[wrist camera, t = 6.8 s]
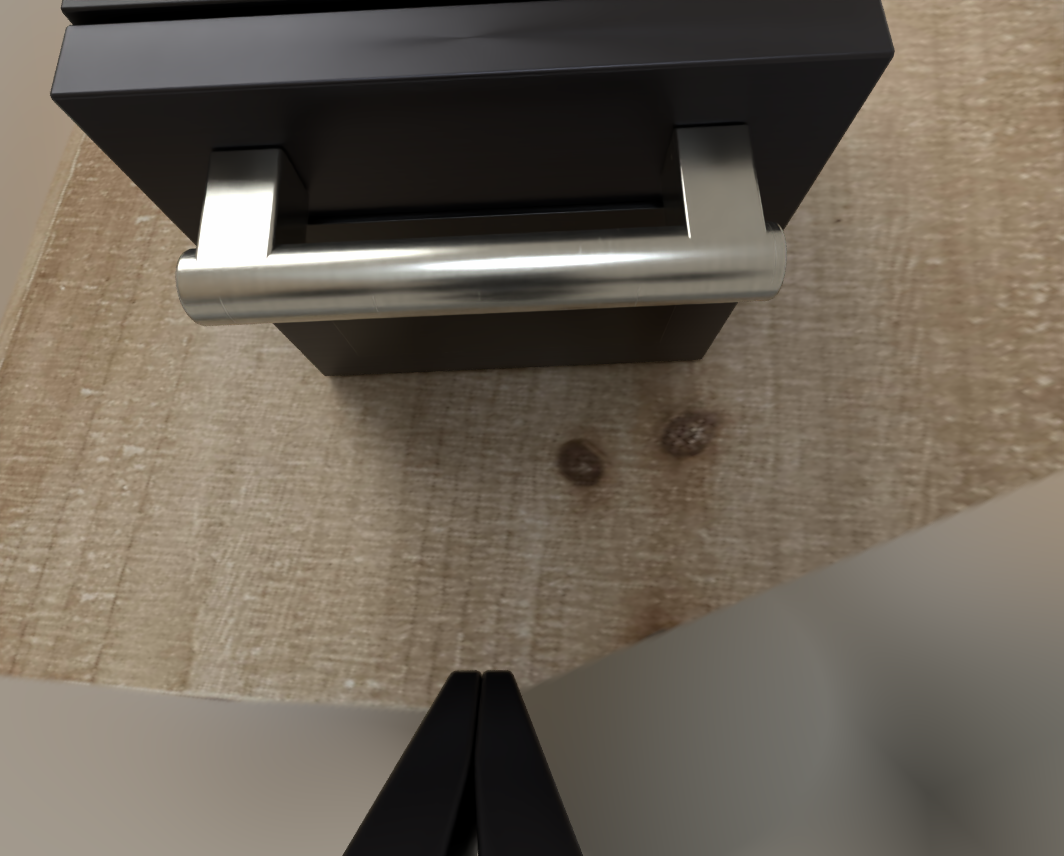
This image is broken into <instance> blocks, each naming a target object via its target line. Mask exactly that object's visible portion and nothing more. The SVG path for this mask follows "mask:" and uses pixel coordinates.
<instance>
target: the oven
mask: <svg viewBox="0 0 1064 856" xmlns="http://www.w3.org/2000/svg"><path fill="white" fill-rule="evenodd" d="M517 1H536V0H62V5H61V10H62V12H63V14H64V15H65V16H66V17H67V18H68V20H69V21H70V22H71V23H72V24H73V25H82V24H101V23H120V22H139V21H158V20H177V19H195V18H214V17H233V16H252V15H271V14H290V13H309V12H328V11H347V10H366V9H385V8H404V7H423V6H442V5H460V4H479V3H498V2H517Z"/></svg>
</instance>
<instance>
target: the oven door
mask: <svg viewBox="0 0 1064 856" xmlns="http://www.w3.org/2000/svg"><path fill="white" fill-rule="evenodd" d="M894 52H895V50H894V46H893V43H892V39H891V35H890V32H889V28H888V24H887V21H886V17H885V13H884V9H883V6H882V2H881V0H536V1H517V2H498V3H479V4H460V5H442V6H423V7H404V8H385V9H366V10H347V11H328V12H309V13H290V14H271V15H252V16H233V17H214V18H195V19H177V20H158V21H139V22H120V23H101V24H82V25H69V26H68V27H67V28H66V30H65V34H64V38H63V42H62V46H61V51H60V55H59V59H58V63H57V67H56V71H55V76H54V80H53V84H52V88H51V92H50V96H51V98H52V100H53V101H54V102H55V103H56V104H57V105H58V106H59V107H60V108H61V109H62V110H63V111H64V112H65V113H66V114H67V115H68V116H69V117H70V118H71V119H72V120H73V121H74V122H75V123H76V124H77V125H78V126H79V127H80V128H81V129H82V130H83V131H84V132H85V133H86V134H87V135H88V136H89V138H90V139H91V140H92V141H93V142H94V143H95V144H96V145H97V146H98V147H99V148H100V149H101V150H102V151H103V152H104V153H105V154H106V155H107V156H108V157H109V158H110V159H111V160H112V161H113V162H114V163H115V164H116V165H117V166H118V167H119V168H120V169H121V170H122V171H123V172H124V173H125V174H126V175H127V176H128V177H129V178H130V179H131V180H132V181H133V182H134V183H135V184H136V185H137V186H138V187H139V188H140V189H141V190H142V191H143V192H144V193H145V194H146V195H147V196H148V197H149V198H150V199H151V200H152V201H153V202H154V203H155V204H156V205H157V206H158V207H159V208H160V209H161V210H162V211H163V213H164V214H165V215H166V216H167V217H168V218H169V219H170V220H171V221H172V222H173V223H174V224H175V225H176V226H177V227H178V228H179V229H180V230H181V231H182V232H183V233H184V234H185V235H186V236H187V237H188V238H189V239H190V240H191V241H192V242H193V243H194V244H195V245H196V249H189V250H187V251H185V252H184V253H183V254H182V255H181V256H180V258H179V260H178V263H177V267H176V287H177V292H178V296H179V299H180V302H181V304H182V306H183V308H184V310H185V312H186V313H187V315H188V316H189V317H190V318H191V319H192V320H193V321H194V322H196V323H197V324H200V325H203V326H220V325H242V324H264V323H273V324H274V325H275V326H276V327H277V328H278V329H279V330H280V331H281V332H282V333H283V334H284V335H285V336H286V337H287V338H288V339H289V340H290V341H291V342H292V343H293V344H294V345H295V346H296V347H297V348H298V349H299V350H300V351H301V352H302V353H303V354H304V355H305V356H306V357H307V358H308V359H309V360H310V361H311V362H312V364H313V365H314V366H315V367H316V368H317V369H318V370H319V371H320V372H321V373H322V374H323V375H325V376H335V375H358V374H381V373H404V372H427V371H450V370H472V369H495V368H518V367H541V366H564V365H586V364H609V363H632V362H655V361H678V360H701V359H702V358H703V357H704V355H705V353H706V352H707V350H708V349H709V347H710V345H711V344H712V342H713V341H714V339H715V338H716V336H717V334H718V333H719V331H720V330H721V328H722V327H723V325H724V323H725V322H726V320H727V319H728V317H729V315H730V314H731V312H732V311H733V309H734V308H735V306H736V304H737V303H738V302H751V301H768V300H771V299H773V298H774V297H775V296H776V295H777V294H778V292H779V290H780V288H781V286H782V283H783V279H784V275H785V270H786V260H787V249H786V240H785V236H784V233H783V230H784V229H785V227H786V225H787V224H788V222H789V221H790V219H791V218H792V216H793V214H794V213H795V211H796V210H797V208H798V207H799V205H800V203H801V202H802V200H803V199H804V197H805V195H806V194H807V192H808V191H809V189H810V188H811V186H812V184H813V183H814V181H815V180H816V178H817V177H818V175H819V173H820V172H821V170H822V169H823V167H824V165H825V164H826V162H827V161H828V159H829V158H830V156H831V154H832V153H833V151H834V150H835V148H836V147H837V145H838V143H839V142H840V140H841V139H842V137H843V135H844V134H845V132H846V131H847V129H848V128H849V126H850V124H851V123H852V121H853V120H854V118H855V117H856V115H857V113H858V112H859V110H860V109H861V107H862V105H863V104H864V102H865V101H866V99H867V98H868V96H869V94H870V93H871V91H872V90H873V88H874V87H875V85H876V83H877V82H878V80H879V79H880V77H881V75H882V74H883V72H884V71H885V69H886V68H887V66H888V64H889V63H890V61H891V60H892V58H893V56H894Z"/></svg>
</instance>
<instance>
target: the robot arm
mask: <svg viewBox="0 0 1064 856" xmlns="http://www.w3.org/2000/svg"><path fill="white" fill-rule="evenodd" d="M477 852H478V856H583V855H582V852H581V849H580V847H579V844H578V842H577V839H576V836H575V834H574V831H573V829H572V826H571V824H570V821H569V818H568V815H567V813H566V810H565V808H564V805H563V803H562V800H561V797H560V795H559V792H558V789H557V787H556V784H555V782H554V779H553V777H552V774H551V771H550V769H549V766H548V763H547V761H546V758H545V756H544V753H543V750H542V748H541V745H540V743H539V740H538V737H537V735H536V732H535V729H534V727H533V724H532V722H531V719H530V717H529V714H528V711H527V709H526V706H525V703H524V701H523V699H522V696H521V693H520V690H519V688H518V685H517V683H516V680H515V677H514V675H513V674H512V672H511V671H509V670H487V671H485V672H484V673H483V674H481V672H479V671H477V670H461V671H454V672H452V673H451V674H450V676H449V677H448V678H447V680H446V682H445V684H444V685H443V687H442V689H441V690H440V692H439V694H438V695H437V697H436V699H435V700H434V702H433V704H432V705H431V707H430V709H429V711H428V712H427V714H426V716H425V717H424V719H423V721H422V723H421V724H420V726H419V727H418V729H417V731H416V732H415V734H414V736H413V738H412V739H411V741H410V743H409V744H408V746H407V748H406V749H405V751H404V753H403V754H402V756H401V758H400V760H399V761H398V763H397V764H396V766H395V768H394V770H393V771H392V773H391V775H390V777H389V778H388V780H387V781H386V783H385V785H384V787H383V788H382V790H381V791H380V793H379V795H378V797H377V798H376V800H375V802H374V804H373V805H372V807H371V808H370V810H369V812H368V814H367V815H366V817H365V819H364V820H363V822H362V824H361V825H360V827H359V829H358V830H357V832H356V834H355V835H354V837H353V839H352V840H351V842H350V844H349V845H348V847H347V849H346V850H345V852H344V854H343V856H477Z"/></svg>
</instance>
